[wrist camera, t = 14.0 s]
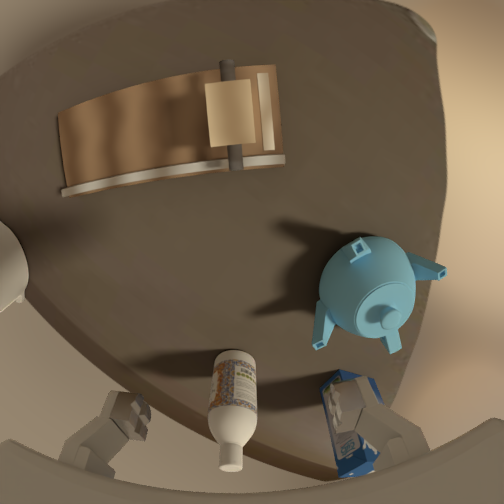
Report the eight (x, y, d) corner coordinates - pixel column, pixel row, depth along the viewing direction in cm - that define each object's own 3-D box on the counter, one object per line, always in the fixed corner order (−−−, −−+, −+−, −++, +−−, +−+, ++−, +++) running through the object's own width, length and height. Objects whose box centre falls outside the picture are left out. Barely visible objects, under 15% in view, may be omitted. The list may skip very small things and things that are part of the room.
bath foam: (220, 344, 42) (208, 455, 24) (261, 353, 43) (266, 463, 25) (210, 370, 45) (198, 471, 27) (248, 378, 46) (248, 478, 28)
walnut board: (77, 194, 32) (63, 200, 29) (66, 113, 27) (51, 113, 24) (281, 164, 32) (285, 168, 28) (273, 68, 27) (276, 61, 23)
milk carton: (373, 378, 48) (404, 459, 29) (354, 396, 50) (378, 474, 32) (338, 369, 46) (366, 462, 27) (319, 388, 48) (338, 477, 30)
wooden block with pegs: (220, 166, 30) (213, 174, 24) (211, 73, 25) (202, 59, 20) (256, 163, 30) (258, 170, 24) (248, 69, 25) (247, 54, 20)
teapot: (295, 309, 40) (307, 362, 30) (332, 214, 34) (363, 247, 24) (378, 323, 42) (403, 368, 32) (418, 243, 36) (460, 277, 26)
